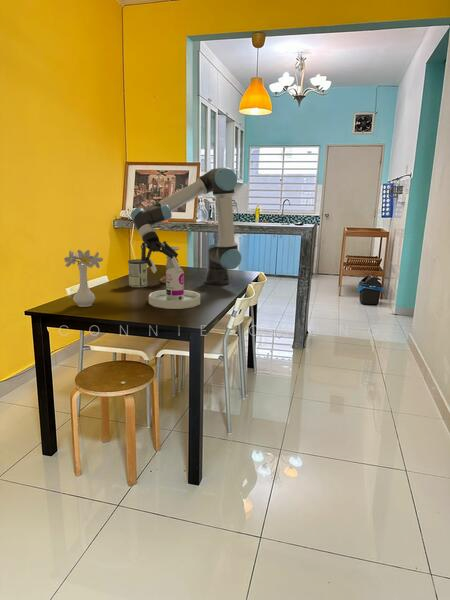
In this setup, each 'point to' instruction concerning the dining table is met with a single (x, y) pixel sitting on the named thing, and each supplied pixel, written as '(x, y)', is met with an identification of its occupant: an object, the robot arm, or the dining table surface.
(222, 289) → the dining table surface
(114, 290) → the dining table surface
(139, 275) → the coffee can
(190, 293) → the ceramic bowl
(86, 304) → the flower vase
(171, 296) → the supplement can
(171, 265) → the candle holder
